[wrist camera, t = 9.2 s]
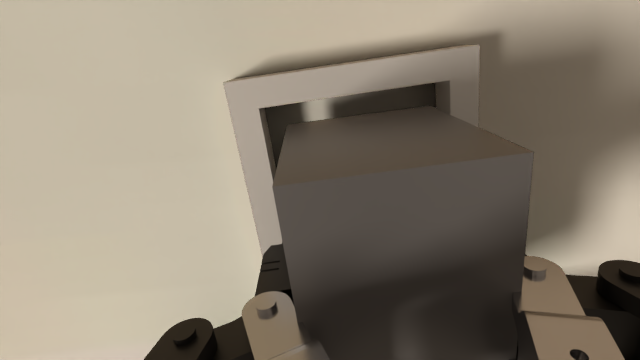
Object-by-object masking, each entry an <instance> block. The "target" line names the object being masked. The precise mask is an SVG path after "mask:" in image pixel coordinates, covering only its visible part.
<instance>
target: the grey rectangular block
mask: <svg viewBox="0 0 640 360" xmlns="http://www.w3.org/2000/svg"><path fill="white" fill-rule="evenodd" d="M533 154H534V152H532V151H530V150H528V149H525V148H523V147H521V146H519V145H516V144H514V143H512V142H510V141H508V140H505V139H503V138H501V137H499V136H496V135H494V134H492V133H490V132H488V131H485V130H483V129H481V128H479V127H476V126H474V125H472V124H470V123H468V122H465V121H463V120H461V119H459V118H456V117H454V116H452V115H450V114H448V113H445V112H443V111H441V110H439V109H436V108H434V107H432V106H423V107H416V108H408V109H400V110H393V111H385V112H378V113H370V114H363V115H355V116H348V117H340V118H333V119H325V120H318V121H310V122H303V123H295V124H288V125H287V128H286V132H285V136H284V140H283V144H282V148H281V153H280V157H279V161H278V165H277V169H276V173H275V177H274V182H273V186H272V188H273V193H274V199H275V204H276V209H277V215H278V220H279V226H280V231H281V236H282V242H283V247H284V253H285V258H286V264H287V269H288V274H289V280H290V285H291V291H292V296H293V301H294V307H295V312H296V318H297V323H299V322H303V324H304V325H305V327H306V329H307V331H308V333H309V335H310V337H311V339H312V340H315V339H318V340H319V341H320V343H321V345H322V346H323V348H324V350H325V352H326V354H327V355H328V357H329V359H330V360H509V359H515V358H516V353H517V342H518V335H517V329H516V325H515V321H514V317H513V313H512V293H513V292H520V291H522V283H523V271H524V260H525V248H526V236H527V224H528V213H529V201H530V189H531V178H532V166H533Z"/></svg>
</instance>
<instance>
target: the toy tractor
mask: <svg viewBox="0 0 640 360" xmlns="http://www.w3.org/2000/svg"><path fill="white" fill-rule="evenodd" d="M479 66H480V45H460V46H453V47H447V48H440V49H433V50H427V51H420V52H413V53H406V54H400V55H393V56H386V57H379V58H373V59H366V60H359V61H352V62H346V63H339V64H332V65H326V66H319V67H312V68H305V69H299V70H292V71H285V72H278V73H272V74H265V75H258V76H251V77H245V78H238V79H232V80H229V81H227V82H224V83H223V85H224V89H225V94H226V98H227V102H228V107H229V111H230V116H231V120H232V124H233V129H234V133H235V138H236V142H237V147H238V151H239V155H240V160H241V164H242V169H243V173H244V177H245V182H246V186H247V191H248V195H249V199H250V204H251V208H252V213H253V217H254V222H255V226H256V230H257V235H258V239H259V244H260V248H261V252H262V257H263V255H264V253H265V252H266V251H267V250H268V248H269V247H270V246H271V245H278V244H282V236H281V231H280V226H279V220H278V215H277V209H276V204H275V199H274V193H273V188H272V186H273V182H274V177H275V173H276V165H275V160H274V155H273V149H272V144H271V139H270V134H269V129H268V123H267V118H266V113H265V107H272V106H278V105H285V104H292V103H299V102H306V101H312V100H319V99H326V98H333V97H340V96H346V95H353V94H360V93H367V92H374V91H380V90H387V89H394V88H401V87H407V86H414V85H421V84H428V83H435V92H436V109H439V110H441V111H443V112H445V113H448V114H450V115H452V116H454V117H456V118H459V119H461V120H463V121H465V122H468V123H470V124H472V125H474V126H476V127H479Z"/></svg>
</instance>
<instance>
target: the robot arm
mask: <svg viewBox="0 0 640 360" xmlns="http://www.w3.org/2000/svg"><path fill="white" fill-rule="evenodd" d="M512 313H513V317H514V321H515V325H516V329H517V335H518V342H517V353H516V358H515V359H509V360H640V263H637V262H632V261H625V260H612V261H607V262H604V263H602V264H601V265H600V266H599V270H598V276H597V277H593V276H576V275H566V274H565V273H564V271H563V270H562V268H561V267H560V266H558V265H557V264H555V263H554V262H552V261H549V260H547V259H544V258H540V257H535V256H527V255H526V254H525V260H524V271H523V283H522V291H520V292H513V293H512ZM144 360H330V359H329V357H328V355H327V354H326V352H325V350H324V348H323V346H322V345H321V343H320V341H319V340H318V339H315V340H312V339H311V337H310V335H309V333H308V331H307V329H306V327H305V325H304V324H303V322H299V323H297V318H296V312H295V307H294V301H293V296H292V291H291V285H290V280H289V274H288V269H287V264H286V258H285V253H284V247H283V242H282V244H278V245H271V246H270V247H269V248H268V250H267V251H266V252H265V253H264V255H263V259H262V265H261V269H260V274H259V279H258V284H257V289H256V294H255V297H253V298H252V299H250V300H249V301H248V302H247V303H246V304H245V306H244V307H243V310H242V316H241V317H240V318H238V319H236V320H235V321H232V322H230V323H228V324H225V325H222V326H220V327H217V328H214V329H213V326H212V324H211V323H210V322H209V321H208V320H206V319H203V318H192V319H188V320H185V321H182V322H180V323H178V324H176V325H174V326H173V327H171V328H170V329H169V330H168V331H167V332H165V334H164V335H163V336H162V337H161V338H160V340H159V341H158V342H157V343H156V345H155V346H154V347H153V348H152V350H151V351H150V352H149V353H148V355H147V356H146V357H145V359H144Z"/></svg>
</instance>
